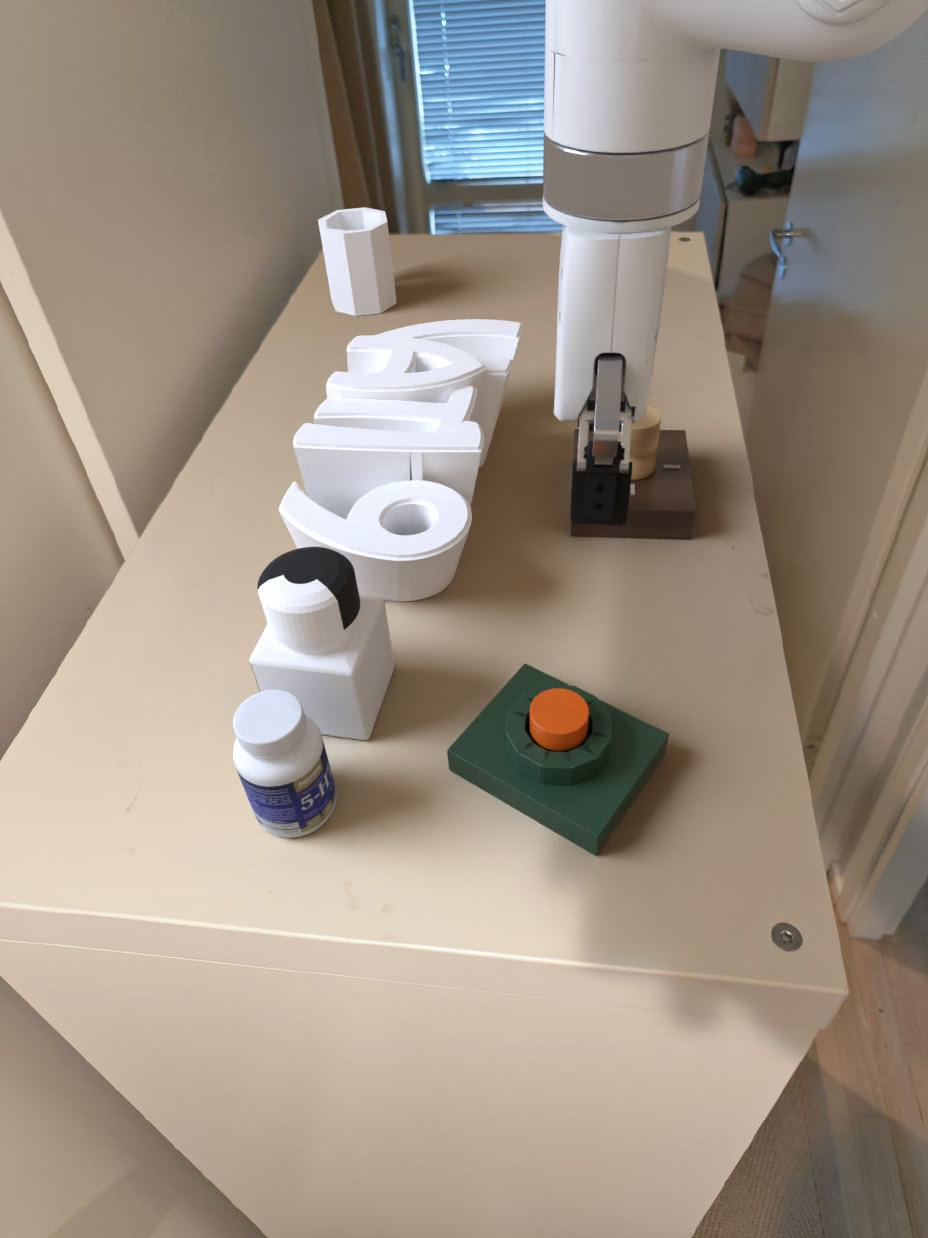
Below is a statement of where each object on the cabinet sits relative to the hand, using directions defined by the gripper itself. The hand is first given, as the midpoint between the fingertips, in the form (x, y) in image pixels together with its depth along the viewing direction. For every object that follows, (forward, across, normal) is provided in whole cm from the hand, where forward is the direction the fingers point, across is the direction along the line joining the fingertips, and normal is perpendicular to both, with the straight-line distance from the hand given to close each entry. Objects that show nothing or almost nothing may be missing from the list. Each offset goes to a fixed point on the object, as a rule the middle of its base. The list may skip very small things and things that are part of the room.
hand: (600, 472), depth 52 cm
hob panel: (+15, -18, +3) cm, 24 cm away
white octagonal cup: (+15, -59, -30) cm, 68 cm away
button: (+11, +11, -2) cm, 16 cm away
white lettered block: (+15, -17, -16) cm, 28 cm away
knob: (+12, -18, +3) cm, 22 cm away
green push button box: (+15, +11, -2) cm, 19 cm away
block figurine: (+15, +7, -18) cm, 24 cm away
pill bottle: (+15, +16, -18) cm, 28 cm away
